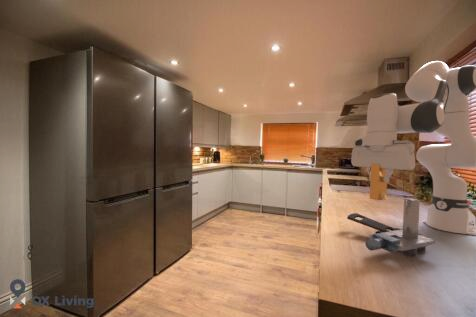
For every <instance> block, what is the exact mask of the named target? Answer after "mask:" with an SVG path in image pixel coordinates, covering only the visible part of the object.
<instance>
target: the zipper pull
mask: <svg viewBox="0 0 476 317" xmlns="http://www.w3.org/2000/svg"><path fill="white" fill-rule="evenodd" d="M357 218H359V219H357ZM346 219H347V220H350V221H352V222H356V223H357V224H361V225H363V226H366V227H369V228H371V229H374V230H377V231H375V232H374V234H377V233H383V232H389V231H395V230H403V228H398V227H396V228H395V227H392V226H390V225H388V224H385V223H382V222H379V221H377V220H375V219H372V218H370V217H367V216H364V215H363V214H360V213H357V212H356V213H355V212H353V213H351V214H349V215H347V218H346ZM418 235H421V236H423V235H422V234H421V233H418ZM426 247H427V246H424V247H419V248H417V254H422V253H425V251H426V250H427V249H426Z"/></svg>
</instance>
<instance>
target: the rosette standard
mask: <svg viewBox="0 0 476 317" xmlns="http://www.w3.org/2000/svg"><path fill="white" fill-rule="evenodd" d="M420 205H421V201H420V200H419V199H417V198H416V199H415V198H406V197H405V198H403V215H402V216H403V217H402V229H403V230H395V231H391V230H388V231H389V232H383V233H377V234H375V233H371V234H369V238H368V239H366V240H365V243H364V244H365V247H366V248H367V249H368V250H369V251H376V250H381V249H383V250H384V251H386V252H389V253H394V252H400V251H401V254H403V255H404V256H408V257H413V258H414V257H415V258H416V257H418V253H417V248H419V247H424V246H426V247H427V246H432V245H433V246H434V245H436V243H437V242H436V241H437V240H436V239H434V238H430V237H427V236H424V235H422V234H421V235H422V236H421V235H418V234H419V224H420Z"/></svg>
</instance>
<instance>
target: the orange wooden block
mask: <svg viewBox="0 0 476 317" xmlns="http://www.w3.org/2000/svg"><path fill="white" fill-rule="evenodd" d="M386 173H387V172H385V168H380V165H379V164H371V180H369V181H370V183H369V184H370V185H369V186H370V187H369V199H370V200H376V201H384V200H387V188H388V183H386V182H382V181H381V180H382V177H384V176H385V174H386Z"/></svg>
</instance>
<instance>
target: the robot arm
mask: <svg viewBox="0 0 476 317" xmlns="http://www.w3.org/2000/svg"><path fill="white" fill-rule="evenodd" d="M404 89H405V90H404V91H405V94H406V96H407V97H408V98H409V99H410V100H412V101H414V102H417V103H412V104H405V105H399V104H398V96H397V94H396V93H394V92H391V93H389V92H388V93H381V94H378V95H375V96H373V97H371V98H370V99H369V102H368V107H367V112H366V123H367V128H366V132H365V133H366V134H365V135H364V136H363V137H360V138H357V139H356V140H354V141H353V143H352V146H353V148H352V150H351V160H350V162H351V164H352V167H360V168H366V172H367V174H368V176H369V178H368V179H369V181H370V180H371V164H379V165H380V168H385V172H387V173H386V174H385V176H384V177H382V180H381V181H382V182H386V183H387V184H388V183H390V178H391V176H392V175H393V174H394V171H395V170H402V171H403V170H404V171H413V170H414V169H415V167H416V160H417V162H418V163H419V164H420V165H422V167H424V168H425V169H426V170H427V171H428V172H429V174H430V175H431V178H432V189H433V192H432V195H431V199H430V200H431V201H430V202H431V205H429V206H428V207H427V212H426V219H423V223H424V224H426V225H427V226H428V227H430V228H433V229H436V230H439V231H440V230H441V231H444V232H449V233H454V234H455V233H456V234H464V235H471V236H476V216H475V215H474V214H473V212H472V211H471V210H470V209H469V207H470V206H469V205H471V203H472V201H471V200H470V199H467V197H468V196H467V195H468V184H467V182H466V180H465V179H464V178H462V177H461V176H459V175H458V176H457V175H456V174H454V173H453V172H452V168H453V169H468V170H469V169H476V136H475V135H474V134H473V132H472V130H471V125H470V104H469V98H468V96H469V95H470V94H471V92H473V91H474V90H475V89H476V66H475V65H473V64H470V65H469V64H468V65H462V66H461V67H454V68H449V66H448V65H447V64H446V63H445V62H443V61H439V60H435V61H430V62H428V63H426V64H424V65H423V66H422V67H421V66H420V68H419V69H418V70H417V71H415V72H414V73H413V74H412V75H411V77H410V78H409V79H408V80H407V82H406V84H405V88H404ZM434 132H436V133H437V134H439V135H441V136H443V137H445V138H448V140H450V142H451V143H437V144H436V143H434V144H433V143H432V144H427V145H423V146H421V147H419V148H418V149H417V152H416V156H415V144H414V142H412V141H411V140H408V139H405V140H398V138H397V137H398V134H413V133H415V134H416V133H418V134H419V133H420V134H421V133H424V134H426V133H427V134H428V133H429V134H431V133H434Z"/></svg>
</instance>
